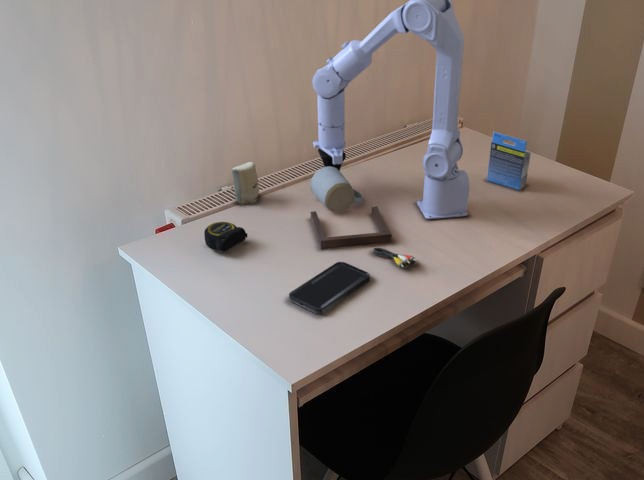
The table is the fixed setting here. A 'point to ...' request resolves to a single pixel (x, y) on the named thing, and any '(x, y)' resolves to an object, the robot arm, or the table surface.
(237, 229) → the tape measure
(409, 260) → the composite cable
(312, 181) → the ceramic mug
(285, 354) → the table surface
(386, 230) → the frame
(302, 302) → the phone
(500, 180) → the label tape box
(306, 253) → the table surface
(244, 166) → the beige upright block
